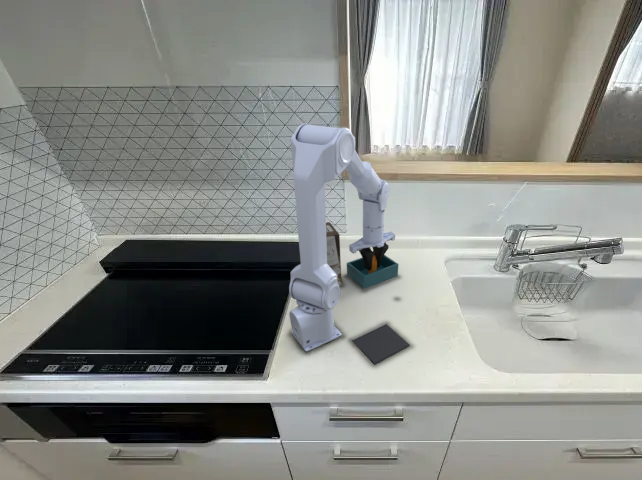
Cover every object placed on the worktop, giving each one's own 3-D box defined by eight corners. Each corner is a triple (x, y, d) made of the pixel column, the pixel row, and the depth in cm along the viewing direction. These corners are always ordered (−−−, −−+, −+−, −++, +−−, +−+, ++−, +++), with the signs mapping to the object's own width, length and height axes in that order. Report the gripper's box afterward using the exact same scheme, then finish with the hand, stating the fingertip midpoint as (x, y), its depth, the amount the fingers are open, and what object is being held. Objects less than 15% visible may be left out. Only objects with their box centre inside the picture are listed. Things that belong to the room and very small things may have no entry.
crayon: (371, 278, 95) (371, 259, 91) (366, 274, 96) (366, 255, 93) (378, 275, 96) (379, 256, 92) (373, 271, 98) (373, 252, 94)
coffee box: (342, 285, 92) (340, 234, 83) (321, 290, 91) (315, 238, 81) (333, 270, 99) (330, 221, 89) (313, 274, 97) (307, 224, 88)
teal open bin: (364, 290, 91) (364, 276, 88) (347, 275, 97) (346, 262, 94) (397, 277, 96) (398, 264, 94) (379, 264, 102) (379, 251, 100)
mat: (374, 364, 69) (374, 363, 69) (351, 340, 75) (351, 339, 74) (409, 345, 74) (409, 344, 73) (385, 324, 79) (385, 323, 79)
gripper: (359, 236, 80) (359, 281, 89) (403, 223, 87) (400, 266, 95) (344, 226, 85) (346, 270, 93) (387, 214, 92) (385, 256, 100)
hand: (372, 267), depth 95 cm, fingers closed on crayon, 2 cm apart
